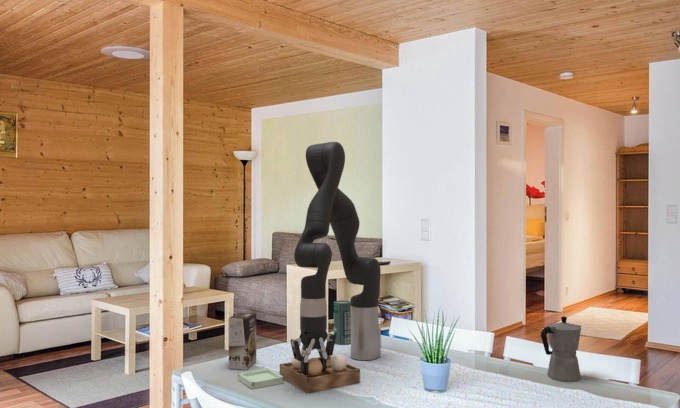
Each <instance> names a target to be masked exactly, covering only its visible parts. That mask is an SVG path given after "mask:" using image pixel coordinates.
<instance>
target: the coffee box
mask: <svg viewBox="0 0 680 408" xmlns="http://www.w3.org/2000/svg"><path fill="white" fill-rule="evenodd" d="M256 363H257V313H256V312H238V313H236V314H233V315H232V316H229V317H228V369H230V370H231V369H232V370H242V371H246V370H248V369H250V368H251V367H252V366H253V365H255V364H256Z"/></svg>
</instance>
